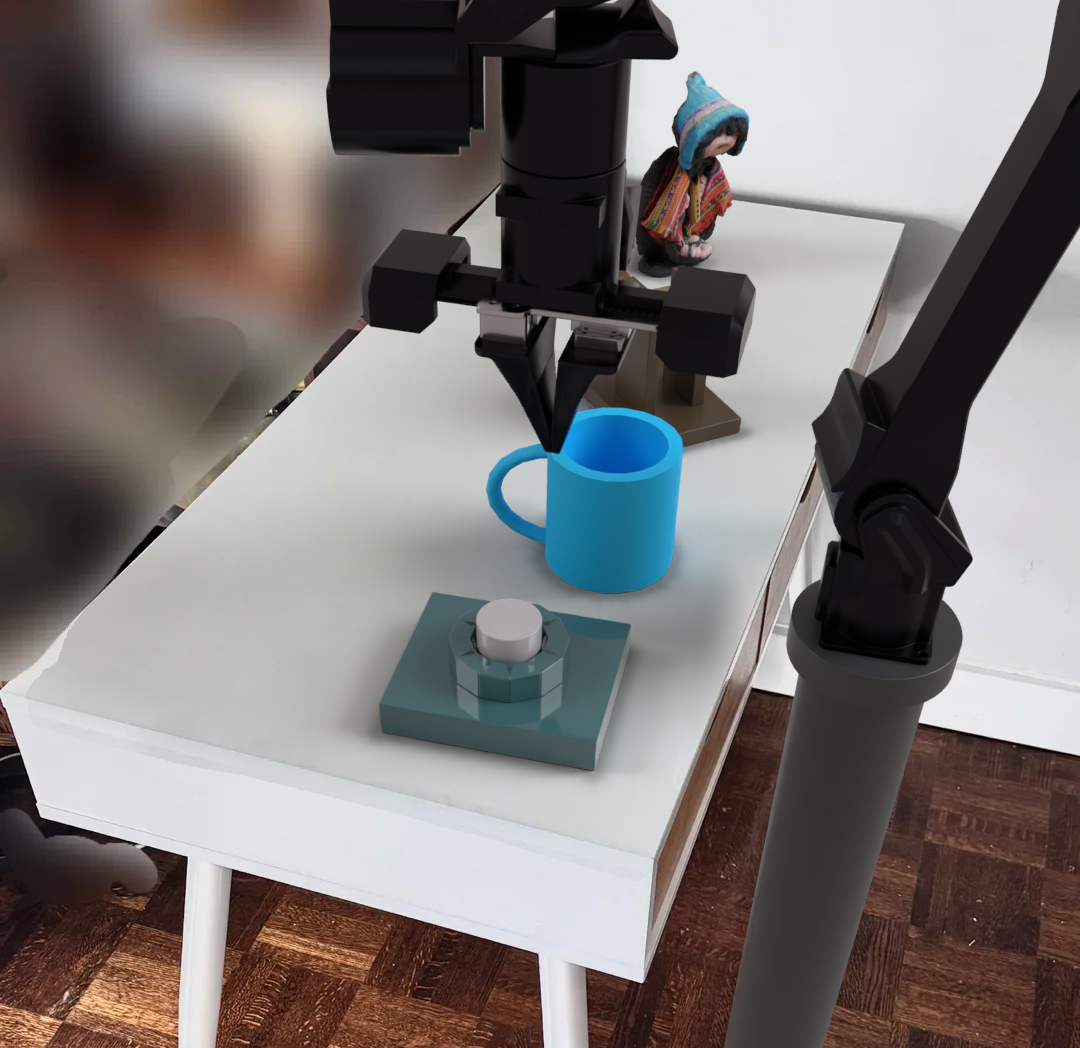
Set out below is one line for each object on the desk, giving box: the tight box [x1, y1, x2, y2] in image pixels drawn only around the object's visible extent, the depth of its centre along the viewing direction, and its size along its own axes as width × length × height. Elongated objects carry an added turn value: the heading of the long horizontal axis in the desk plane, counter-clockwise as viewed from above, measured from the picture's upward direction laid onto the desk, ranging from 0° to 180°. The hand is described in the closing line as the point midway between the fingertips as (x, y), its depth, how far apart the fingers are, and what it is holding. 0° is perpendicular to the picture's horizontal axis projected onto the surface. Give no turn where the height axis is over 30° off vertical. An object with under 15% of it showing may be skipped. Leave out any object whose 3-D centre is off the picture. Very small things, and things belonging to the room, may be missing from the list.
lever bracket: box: [583, 265, 742, 448], centre depth 94 cm, size 10×8×10 cm
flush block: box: [378, 591, 632, 772], centre depth 74 cm, size 12×10×4 cm
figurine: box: [635, 70, 750, 278], centre depth 110 cm, size 10×7×15 cm
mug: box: [485, 408, 684, 594], centre depth 83 cm, size 12×8×8 cm
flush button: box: [476, 597, 542, 664], centre depth 73 cm, size 4×4×2 cm
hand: (554, 449), depth 71 cm, fingers closed
